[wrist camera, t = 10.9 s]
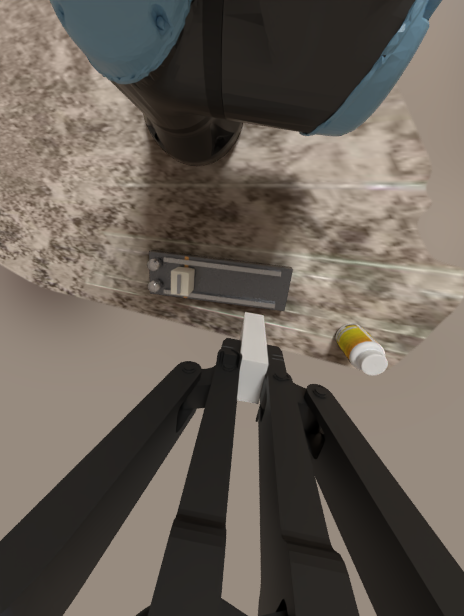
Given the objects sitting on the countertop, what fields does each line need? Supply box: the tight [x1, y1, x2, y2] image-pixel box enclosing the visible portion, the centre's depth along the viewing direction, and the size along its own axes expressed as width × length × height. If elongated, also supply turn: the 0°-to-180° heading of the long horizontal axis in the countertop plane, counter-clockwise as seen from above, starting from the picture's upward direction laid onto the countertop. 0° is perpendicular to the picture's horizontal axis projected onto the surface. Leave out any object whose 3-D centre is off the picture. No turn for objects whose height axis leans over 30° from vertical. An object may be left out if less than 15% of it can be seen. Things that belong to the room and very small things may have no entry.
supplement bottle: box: [336, 324, 388, 375], centre depth 40 cm, size 6×6×10 cm
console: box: [147, 250, 293, 311], centre depth 42 cm, size 8×26×4 cm, turn 84°
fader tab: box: [171, 266, 195, 296], centre depth 40 cm, size 4×3×5 cm
